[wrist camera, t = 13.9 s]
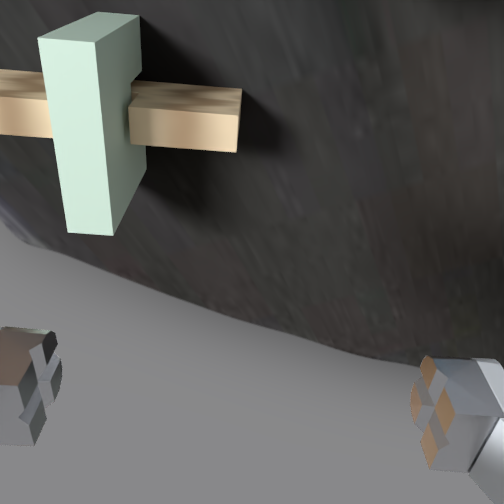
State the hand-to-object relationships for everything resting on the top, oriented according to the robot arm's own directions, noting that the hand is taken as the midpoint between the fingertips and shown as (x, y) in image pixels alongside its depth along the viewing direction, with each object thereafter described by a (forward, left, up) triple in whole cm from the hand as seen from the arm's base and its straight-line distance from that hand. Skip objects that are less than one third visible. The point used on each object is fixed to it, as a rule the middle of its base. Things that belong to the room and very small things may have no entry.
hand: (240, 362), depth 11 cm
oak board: (+12, +5, -37) cm, 39 cm away
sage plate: (+12, +5, -37) cm, 39 cm away
